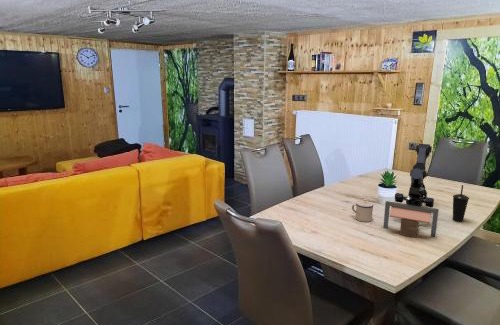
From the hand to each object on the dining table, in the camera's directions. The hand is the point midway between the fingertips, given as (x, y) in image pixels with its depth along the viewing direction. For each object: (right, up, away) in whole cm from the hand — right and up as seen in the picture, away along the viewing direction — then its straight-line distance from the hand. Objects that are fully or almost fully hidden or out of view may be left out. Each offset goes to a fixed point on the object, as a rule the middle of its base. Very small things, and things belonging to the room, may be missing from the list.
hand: (411, 214), depth 183 cm
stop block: (-3, -8, -5) cm, 10 cm away
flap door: (-7, -1, -12) cm, 14 cm away
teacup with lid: (-22, -4, +12) cm, 26 cm away
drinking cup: (+29, -5, +9) cm, 31 cm away
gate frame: (-4, -8, -5) cm, 10 cm away
